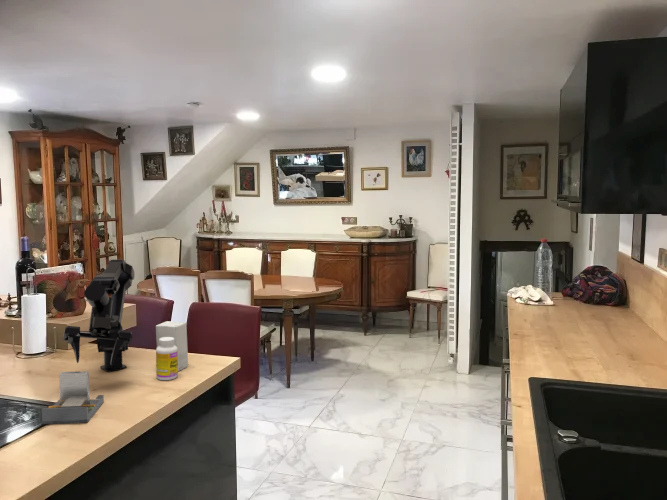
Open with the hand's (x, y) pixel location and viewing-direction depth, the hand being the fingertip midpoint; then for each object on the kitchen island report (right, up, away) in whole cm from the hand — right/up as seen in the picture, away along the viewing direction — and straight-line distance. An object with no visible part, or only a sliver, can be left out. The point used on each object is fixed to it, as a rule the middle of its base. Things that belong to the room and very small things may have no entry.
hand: (94, 363), depth 155 cm
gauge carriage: (+1, -10, -14) cm, 17 cm away
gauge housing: (+1, -11, -14) cm, 17 cm away
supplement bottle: (+17, -8, +15) cm, 24 cm away
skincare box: (+15, -7, +24) cm, 30 cm away
